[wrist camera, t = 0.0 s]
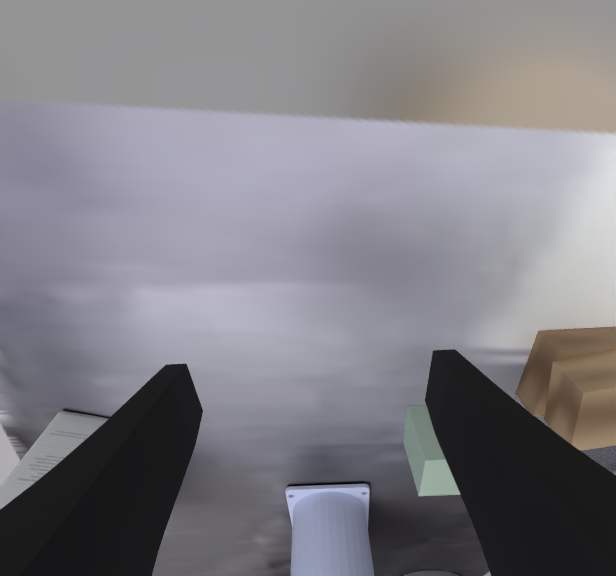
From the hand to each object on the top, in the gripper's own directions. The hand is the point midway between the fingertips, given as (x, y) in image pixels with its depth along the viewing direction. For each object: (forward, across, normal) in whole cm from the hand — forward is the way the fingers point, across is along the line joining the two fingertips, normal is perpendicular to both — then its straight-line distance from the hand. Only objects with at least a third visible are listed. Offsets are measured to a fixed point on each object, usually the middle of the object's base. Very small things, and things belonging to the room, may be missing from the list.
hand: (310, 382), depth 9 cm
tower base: (+11, -18, +10) cm, 23 cm away
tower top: (+8, -18, +10) cm, 22 cm away
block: (+10, -9, +16) cm, 21 cm away
